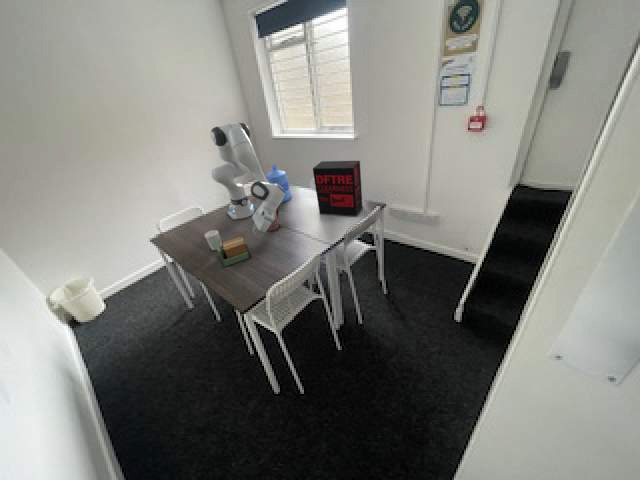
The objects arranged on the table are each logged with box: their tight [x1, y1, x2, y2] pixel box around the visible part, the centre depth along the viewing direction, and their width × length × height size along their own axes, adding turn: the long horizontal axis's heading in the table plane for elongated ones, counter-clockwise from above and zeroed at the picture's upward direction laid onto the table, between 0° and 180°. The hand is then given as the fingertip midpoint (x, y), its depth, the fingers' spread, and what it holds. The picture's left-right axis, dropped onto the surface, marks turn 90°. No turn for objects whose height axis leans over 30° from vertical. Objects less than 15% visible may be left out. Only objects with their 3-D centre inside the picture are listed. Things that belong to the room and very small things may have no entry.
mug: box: [267, 208, 280, 232], centre depth 170 cm, size 13×9×14 cm
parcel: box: [222, 236, 248, 259], centre depth 148 cm, size 11×9×9 cm
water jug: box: [266, 164, 292, 203], centre depth 205 cm, size 16×16×28 cm
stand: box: [216, 239, 250, 268], centre depth 147 cm, size 14×14×10 cm
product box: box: [312, 160, 363, 217], centre depth 172 cm, size 26×14×32 cm, turn 67°
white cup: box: [204, 229, 223, 251], centre depth 158 cm, size 8×8×10 cm
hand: (253, 231), depth 148 cm, fingers closed
